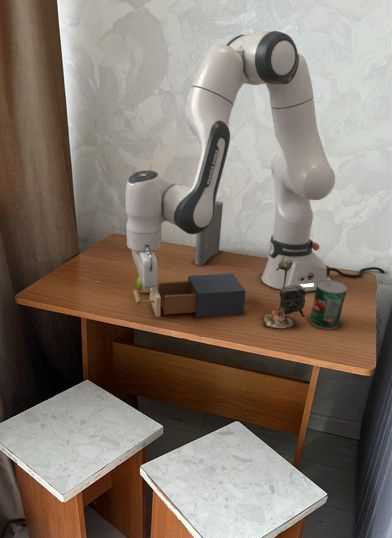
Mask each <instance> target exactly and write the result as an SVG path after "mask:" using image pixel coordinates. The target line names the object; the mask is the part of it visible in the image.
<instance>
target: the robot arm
mask: <svg viewBox="0 0 392 538" xmlns="http://www.w3.org/2000/svg"><path fill="white" fill-rule="evenodd" d="M244 84H246V85H249V86H250V85H252V86H260V85H266V87H267V89H268V94H269V103H270V109H271V110H270V111H271V117H272V123H273V130H274V135H275V138H276V141H277V142H278V144H279V147H280V148H281V149H280V150H279V151H277V152H276V153H275V154H274V156H273V158H272V159H271V163H270V170H271V174H272V177H273V178H272V179H273V184H274V198H275V214H274V215H275V216H274V223H273V224H274V225H273V230H272V235H271V236H270V241H269V247H268V258H267V262H266V265H265V268H264V271H263V273H262V275H261V278H260V279H261V281H262V282H263V283H264V284H265V285H266V286H269V287H271V288H273V289H277V290H280V291H281V290H282V289H283V285H284V277H285V270H282V269H279V270H278V271H276V269H277V268H278V267H279V266H278V264H279V262H280V261H281V260H282V258H283V256H287V257H288V258H290V259H291V260H293V264H292V266H291V268H290V269H289V270H288V271H287V276H286V282H285V286H284V288H285V287H286V286H289V285H297V284H300V285H301V286H303V287H304V289H305V288H306V289H305V293H308V292H312V291H316V287H317V283H318V282H319V281H321V280H332V279H331V278H330V273H331V272H335V273H337V274H338V275H341V276H343V277H347V278H361V277H362V276H363V272H367V271H374V270H375V271H378V272H380V273H381V274H385V270H384V269H382V268H381V267H379V266H378V267H377V266H371V267H364V268H361V269H360V270H359V273H358V274H350V273H346V272H342V271H340V270H339V269H338V268H334V267H330V266H328V265H327V264H326V263H325V262H324V261H323V260H322V258H320V257H319V256H318V255H317V254H316V253H315V252H314V251H319V250H320V247H321V246H320V244H318V243H317V242H314V241H313V240H312V239H310V236H311V231H312V225H313V219H314V213H313V210H312V206H311V201H321V200H323V199H324V198H327V197H328V196H329V194H331V193H332V191H333V189H334V186H335V183H336V174H335V171H334V169H333V168H332V167H331V165H330V163H329V161H328V158H327V155H326V152H325V149H324V146H323V143H322V139H321V136H320V132H319V128H318V124H317V117H316V108H315V107H316V106H315V99H314V98H315V97H314V89H313V84H312V79H311V74H310V71H309V67H308V64H307V60H306V58H305V57H304V56H303V55H302V54H300V53H299V51H298V48H297V46H296V43H295V41H294V40H293V38H292V37H291V36H290V35H288V34H287V33H285V32H282V31H278V30H273V31H265V30H264V31H263V30H262V31H255V32H251V33H247V34H240V35H238V36H235V37H233V38H232V39H230V40H229V41H228V43H226V44H216V45H213V46H211V47H210V48H209V49H208V50H207V52H206V54H205V55H204V57H203V59H202V60H201V62H200V64H199V67H198V69H197V71H196V73H195V75H194V77H193V80H192V81H191V85H190V88H189V89H188V90H189V91H188V94H187V96H186V99H185V104H184V110H183V114H184V118H185V122H186V124H187V126H188V127H189V129H190V131H191V132H192V133H193V134H194V135H195V137H196V138H197V140H198V141H199V144H200V157H199V161H198V165H197V168H196V169H197V170H196V173H195V177H194V179H193V180H194V181H193V183H192V186H191V187H188V186H186V185H185V184H182V183H179V182H177V181H176V180H175V181H174V180H170V179H169V178H168V179H167V178H166V177H164V176H162V175H160V174H159V173H158V172H157V171H155V170H154V171H153V170H149V169H148V170H140V171H136V172H134V173H133V174H131V175H130V176H129V177H128V179H127V182H126V186H125V201H124V202H125V213H126V217H127V221H126V224H125V225H126V226H125V231H126V232H125V233H126V235H125V236H126V246H127V248H128V249H130V250H131V255H132V259H133V262H134V264H135V268H136V271H137V273H138V277H139V276H140V280H141V287H142V290H143V291H148V290H149V288H154V287H158V286H159V274H158V260H157V257H156V254H157V252H158V250H159V249H160V248H161V247H162V243H163V242H162V241H163V240H162V238H163V235H162V234H163V232H162V231H163V230H162V228H163V227H162V226H163V223H164V222H168V223H170V224H172V225H174V226H176V227H178V228H179V229H180V230H181V231H183V232H185V233H186V234H188V235H197V233H200V232H202V231H203V230H205V229H206V228H207V227H208V226H209V225H210V223H211V222H212V220H213V217H214V212H215V202H216V201H217V195H218V191H219V186H220V183H221V179H222V175H223V171H224V168H225V163H226V160H227V157H228V152H229V147H230V141H231V131H230V128H229V125H230V119H231V114H232V111H233V107H234V106H235V103H236V99H237V96H238V93H239V91H240V89H241V88H242V87H243V85H244ZM313 250H314V251H313Z"/></svg>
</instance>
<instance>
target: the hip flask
mask: <svg viewBox="0 0 392 538" xmlns="http://www.w3.org/2000/svg"><path fill="white" fill-rule="evenodd" d="M223 207H224V202H222V201H218V200H216V202H215V212H214V217H213V220H212V222H211V223H210V225H209V226H208V227H207V228H206V229H205V230H203V231H202V232H200V233H197V234H196V239H195V256H194V264H195V265H196V266H205V263H206V262H207V261H208V260H209V259H210V258H212V257H213V256H215V255H216V254H219V252H220V242H221V233H222V232H221V231H222V230H221V229H222V220H223V219H222V218H223V210H224V209H223Z"/></svg>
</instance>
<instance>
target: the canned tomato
mask: <svg viewBox="0 0 392 538" xmlns="http://www.w3.org/2000/svg"><path fill="white" fill-rule="evenodd" d="M347 291H348V286H347V285H345V284H344V283H343V282H340V281H337V280H335V279H334V280H333V279H331V280H321V281H319V282H318V283H317V287H316V290H315V293H314V297H313V301H312V306H311V307H312V308H311V313H310V317H309V322H310V323H311V325H312V326H315V327H316V328H319V329H323V330H334V329H336V328H338V327H339V325H340V324H339V323H340V320H341V315H342V311H343V307H344V304H345V303H344V302H345V299H346V294H347Z"/></svg>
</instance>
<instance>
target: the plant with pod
mask: <svg viewBox="0 0 392 538" xmlns="http://www.w3.org/2000/svg"><path fill="white" fill-rule="evenodd" d="M292 264H293V260H291V259H290V258H288V257H287V256H283V258H282V260H281V261H280V262H279V264H278V266H279V267H278V268H277V269H276V271H278V270H279V269H282V270H285V277H284V285H283V289H282V290H281V289H280V292H279V297H280V302H279V308H278V310H277V311H276V310H272V311H271V313H269V314H266V315H265V314H264V315H263V316H262V318H263V325H264V326H265V327H270V328H277V329H281V330H283V329H285V328H291V327H295V324H294V321H293V318H292V317H291V316H289V315H291V314H293V313H297V312H299V314H300V316H302V318H304V319H305V316H306V315H305V314H304V312H303V309H304V308H305V306H306V298H305V297H306V292H305V289H306V288H305V289H304V287H303V286H301V285H300V284H297V285H289V286H286V287H285V288H284V286H285V282H286V276H287V271H288V270H289V269H290V268H291V266H292ZM281 309H282V311H283V312H281Z"/></svg>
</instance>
